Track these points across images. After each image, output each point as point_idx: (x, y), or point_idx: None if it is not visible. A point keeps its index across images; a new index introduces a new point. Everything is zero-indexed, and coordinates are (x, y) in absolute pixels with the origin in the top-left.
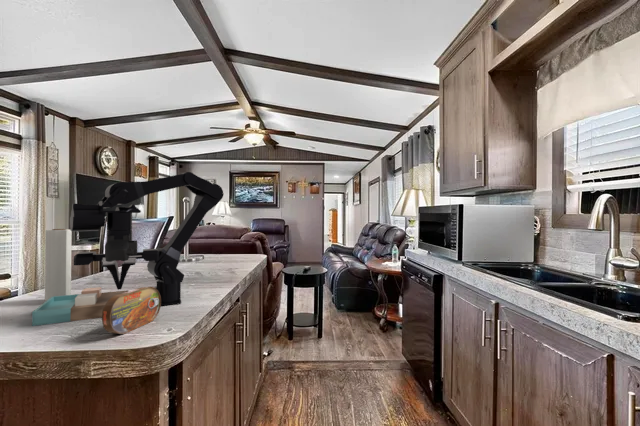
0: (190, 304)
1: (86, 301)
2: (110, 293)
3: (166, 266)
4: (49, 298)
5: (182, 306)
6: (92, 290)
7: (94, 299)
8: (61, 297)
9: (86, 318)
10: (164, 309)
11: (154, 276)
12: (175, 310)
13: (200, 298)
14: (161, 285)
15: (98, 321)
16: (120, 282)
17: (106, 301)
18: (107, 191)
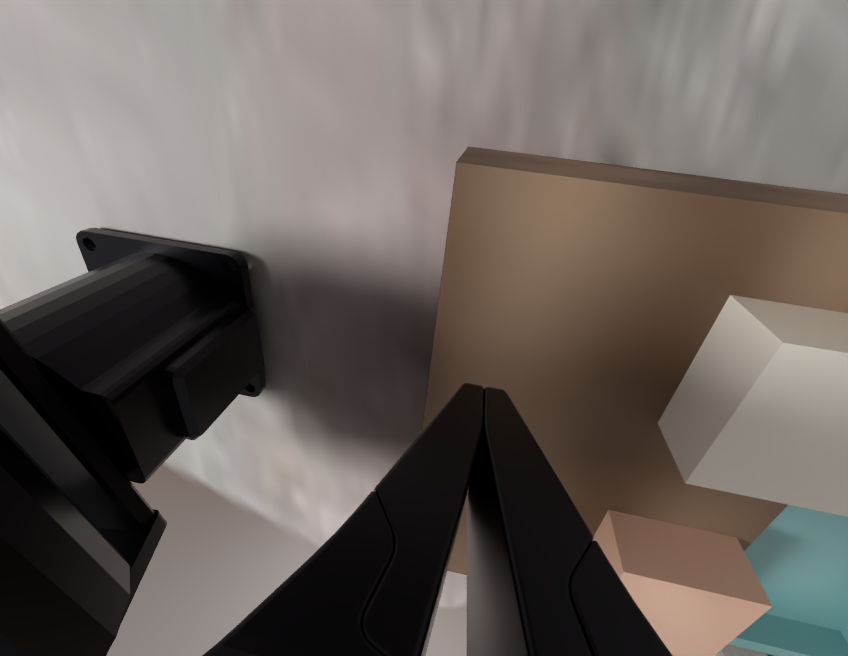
0: (16, 168)
1: (840, 329)
2: None
3: None
4: None
5: (57, 140)
6: (679, 586)
7: (763, 319)
8: (808, 645)
9: (774, 186)
10: (174, 128)
11: (141, 552)
12: (72, 24)
13: (8, 296)
14: (83, 357)
15: (712, 23)
16: (465, 440)
17: (599, 342)
18: None
